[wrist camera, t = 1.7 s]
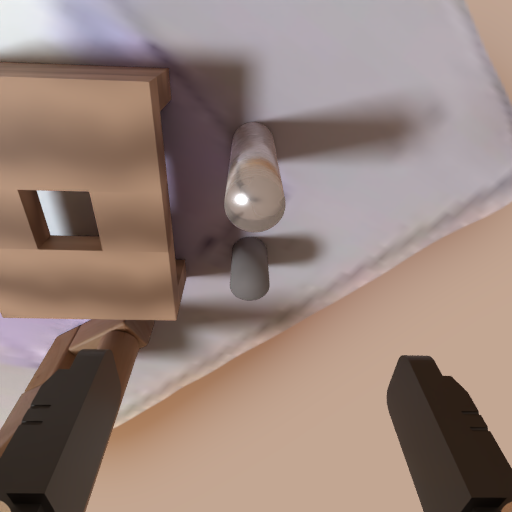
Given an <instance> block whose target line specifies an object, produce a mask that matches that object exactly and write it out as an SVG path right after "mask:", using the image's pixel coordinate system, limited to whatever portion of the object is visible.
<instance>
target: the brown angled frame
mask: <svg viewBox="0 0 512 512" xmlns="http://www.w3.org/2000/svg"><path fill="white" fill-rule="evenodd" d="M154 323H155V321H154V320H114V319H92V320H90V321H88V322H86V323H84V324H82V325H81V326H78V327H76V328H74V329H72V330H70V331H68V332H66V333H64V334H62V335H60V336H58V337H57V338H56V339H55V341H54V343H53V344H52V346H51V348H50V349H49V351H48V353H47V354H46V356H45V358H44V359H43V361H42V363H41V365H40V366H39V368H38V370H37V371H36V373H35V375H34V376H33V378H32V380H31V381H30V383H29V385H28V386H27V388H26V390H25V393H23V394H22V395H21V396H20V398H19V400H18V401H17V403H16V405H15V406H14V408H13V410H12V411H11V413H10V415H9V416H8V418H7V420H6V421H5V423H4V425H3V426H2V428H1V430H0V458H1V456H2V454H3V452H4V451H5V449H6V447H7V445H8V444H9V442H10V440H11V438H12V437H13V435H14V433H15V431H16V429H17V428H18V426H19V425H21V422H22V419H23V417H24V415H25V413H26V412H27V410H28V409H30V407H31V403H32V401H33V399H34V397H35V396H36V394H37V392H38V390H39V389H40V387H41V385H42V384H43V383H44V382H45V381H46V380H48V379H49V378H50V377H51V376H52V375H53V374H54V373H55V372H56V371H57V370H58V369H70V367H71V365H72V363H73V361H74V359H75V357H76V355H77V354H78V352H79V351H80V350H82V349H110V350H111V351H112V352H113V356H114V360H115V364H116V368H117V371H118V375H119V379H120V384H121V398H120V404H119V407H118V411H119V408H120V405H121V402H122V399H123V396H124V393H125V390H126V387H127V384H128V381H129V378H130V375H131V372H132V368H133V365H134V362H135V359H136V356H137V353H138V350H139V349H140V348H142V347H145V346H146V345H147V344H148V342H149V339H150V336H151V332H152V329H153V326H154ZM118 411H117V414H118ZM117 414H116V417H117ZM116 417H115V419H114V422H113V425H112V428H111V431H110V434H109V437H108V440H107V443H106V446H105V449H104V452H103V455H102V458H101V461H100V464H99V467H98V470H97V473H96V476H95V479H94V482H93V485H92V488H91V491H90V494H89V497H88V500H87V503H86V506H85V509H84V512H85V511H86V508H87V505H88V501H89V498H90V496H91V493H92V489H93V486H94V483H95V481H96V477H97V474H98V471H99V468H100V465H101V462H102V459H103V456H104V453H105V450H106V447H107V444H108V441H109V438H110V435H111V432H112V429H113V426H114V423H115V420H116Z"/></svg>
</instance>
